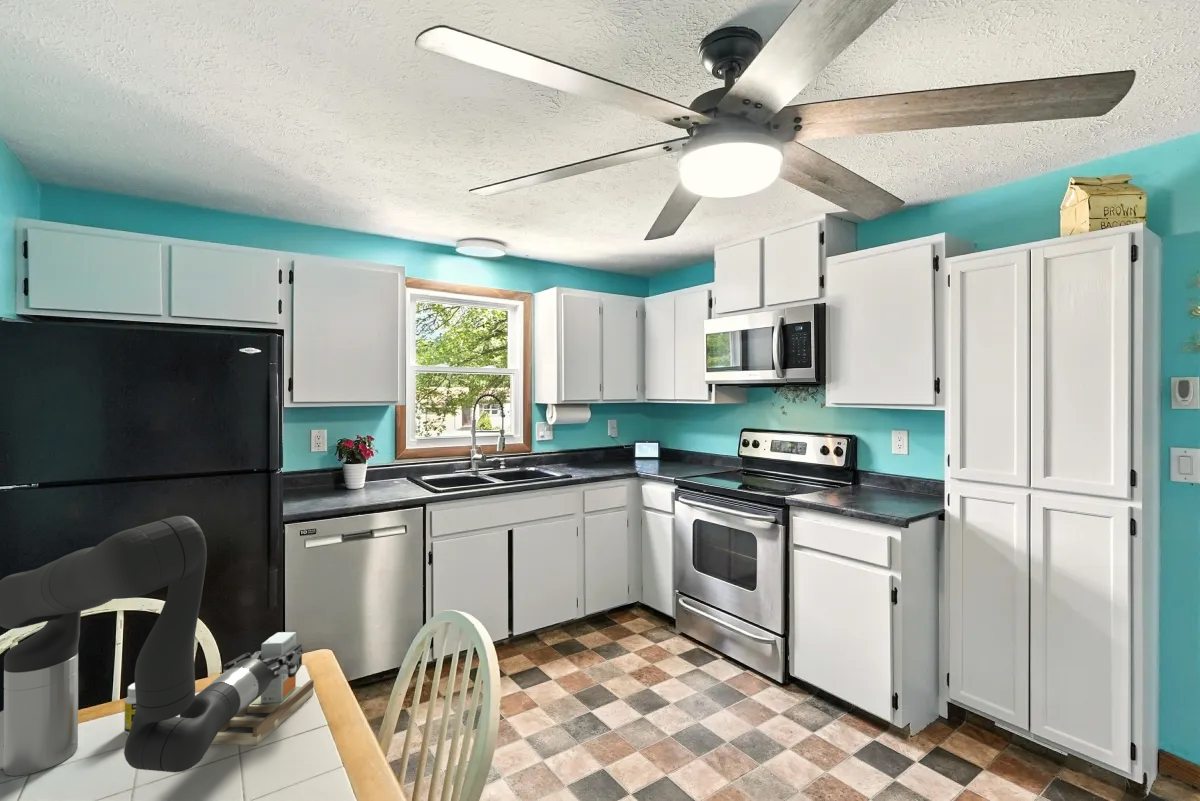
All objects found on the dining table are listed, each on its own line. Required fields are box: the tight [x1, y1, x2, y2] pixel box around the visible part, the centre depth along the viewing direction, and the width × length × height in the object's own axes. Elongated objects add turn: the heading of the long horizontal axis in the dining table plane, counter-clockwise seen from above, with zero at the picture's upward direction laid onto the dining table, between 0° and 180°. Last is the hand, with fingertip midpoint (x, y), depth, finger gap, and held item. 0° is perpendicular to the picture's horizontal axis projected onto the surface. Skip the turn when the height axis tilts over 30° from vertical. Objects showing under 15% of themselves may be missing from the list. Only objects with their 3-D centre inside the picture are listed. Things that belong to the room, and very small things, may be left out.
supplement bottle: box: [124, 682, 137, 735], centre depth 108 cm, size 5×5×8 cm
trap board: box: [210, 679, 314, 746], centre depth 111 cm, size 10×18×3 cm, turn 177°
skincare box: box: [260, 631, 297, 703], centre depth 116 cm, size 6×4×12 cm
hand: (285, 648), depth 119 cm, fingers open, 5 cm apart
